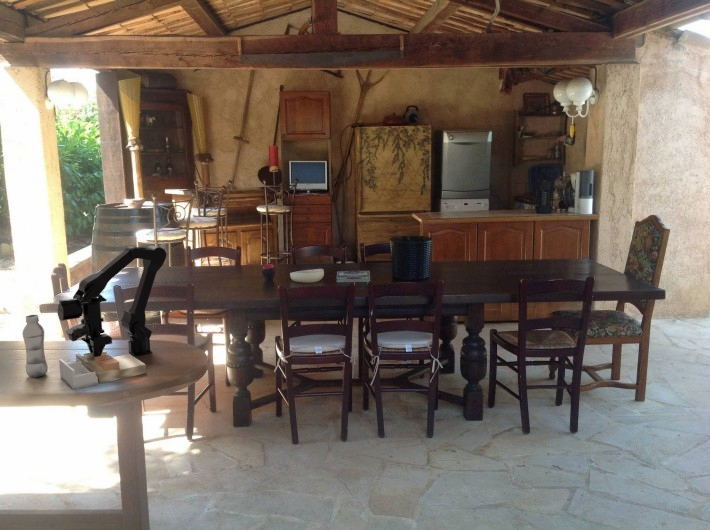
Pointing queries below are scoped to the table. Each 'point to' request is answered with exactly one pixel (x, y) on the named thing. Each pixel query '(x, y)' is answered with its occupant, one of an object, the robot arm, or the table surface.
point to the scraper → (87, 357)
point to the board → (118, 369)
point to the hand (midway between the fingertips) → (95, 359)
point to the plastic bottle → (34, 347)
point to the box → (77, 374)
